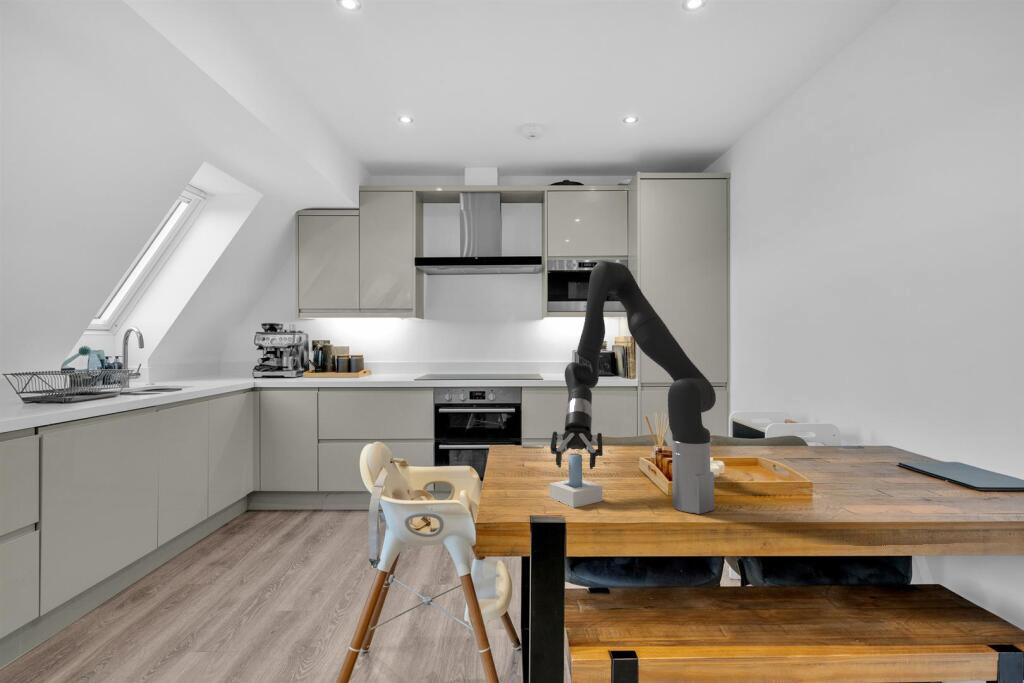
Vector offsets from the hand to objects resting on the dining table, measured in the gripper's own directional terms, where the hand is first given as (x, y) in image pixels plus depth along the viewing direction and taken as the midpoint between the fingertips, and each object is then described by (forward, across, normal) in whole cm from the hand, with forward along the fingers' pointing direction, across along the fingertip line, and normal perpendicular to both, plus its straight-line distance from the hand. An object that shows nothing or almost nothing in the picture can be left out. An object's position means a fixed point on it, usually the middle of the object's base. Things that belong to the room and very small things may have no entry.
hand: (575, 466), depth 140 cm
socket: (+6, 0, +7) cm, 9 cm away
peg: (+6, 0, +8) cm, 9 cm away
